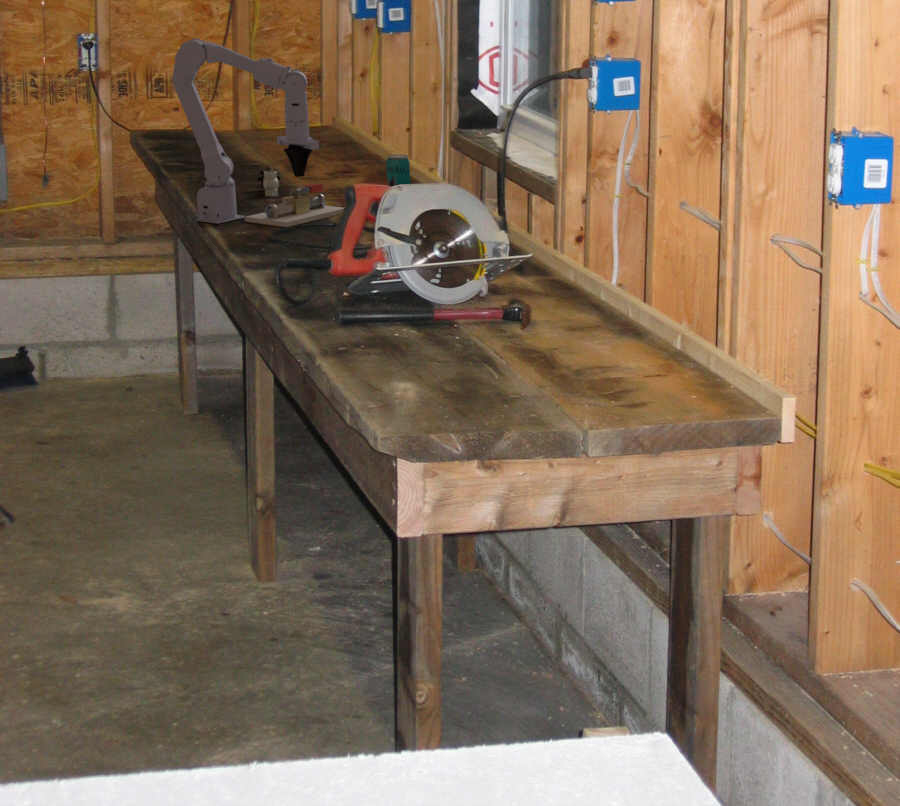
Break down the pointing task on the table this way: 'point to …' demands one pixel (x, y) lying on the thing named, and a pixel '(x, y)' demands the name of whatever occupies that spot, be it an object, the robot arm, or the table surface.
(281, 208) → the valve body
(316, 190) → the valve lever
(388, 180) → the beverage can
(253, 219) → the mounting board
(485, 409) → the table surface
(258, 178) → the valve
